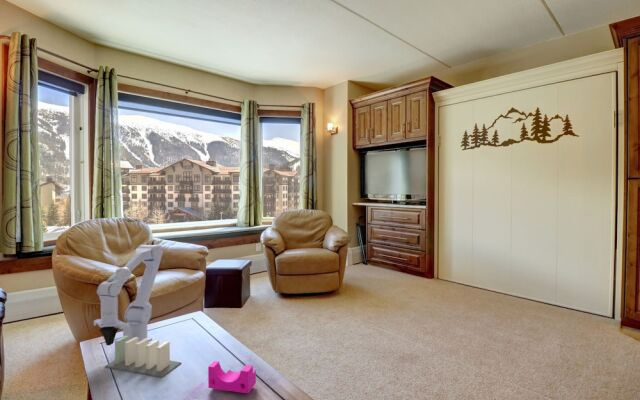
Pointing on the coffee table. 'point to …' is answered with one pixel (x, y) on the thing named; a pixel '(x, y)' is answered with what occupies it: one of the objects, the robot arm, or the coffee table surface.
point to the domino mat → (144, 368)
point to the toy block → (231, 378)
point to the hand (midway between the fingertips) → (109, 344)
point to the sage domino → (120, 349)
